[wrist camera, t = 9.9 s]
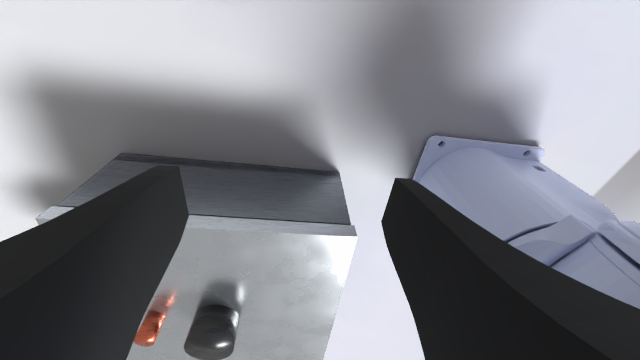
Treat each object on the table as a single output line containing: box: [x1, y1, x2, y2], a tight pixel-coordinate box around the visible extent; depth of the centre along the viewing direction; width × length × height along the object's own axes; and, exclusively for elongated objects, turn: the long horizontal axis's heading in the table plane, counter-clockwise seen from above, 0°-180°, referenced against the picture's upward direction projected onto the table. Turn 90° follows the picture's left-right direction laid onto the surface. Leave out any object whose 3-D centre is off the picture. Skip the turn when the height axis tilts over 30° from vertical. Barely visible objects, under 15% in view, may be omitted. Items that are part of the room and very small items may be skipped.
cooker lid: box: [35, 206, 357, 360], centre depth 18 cm, size 16×16×3 cm
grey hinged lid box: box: [57, 153, 351, 225], centre depth 22 cm, size 20×16×6 cm
